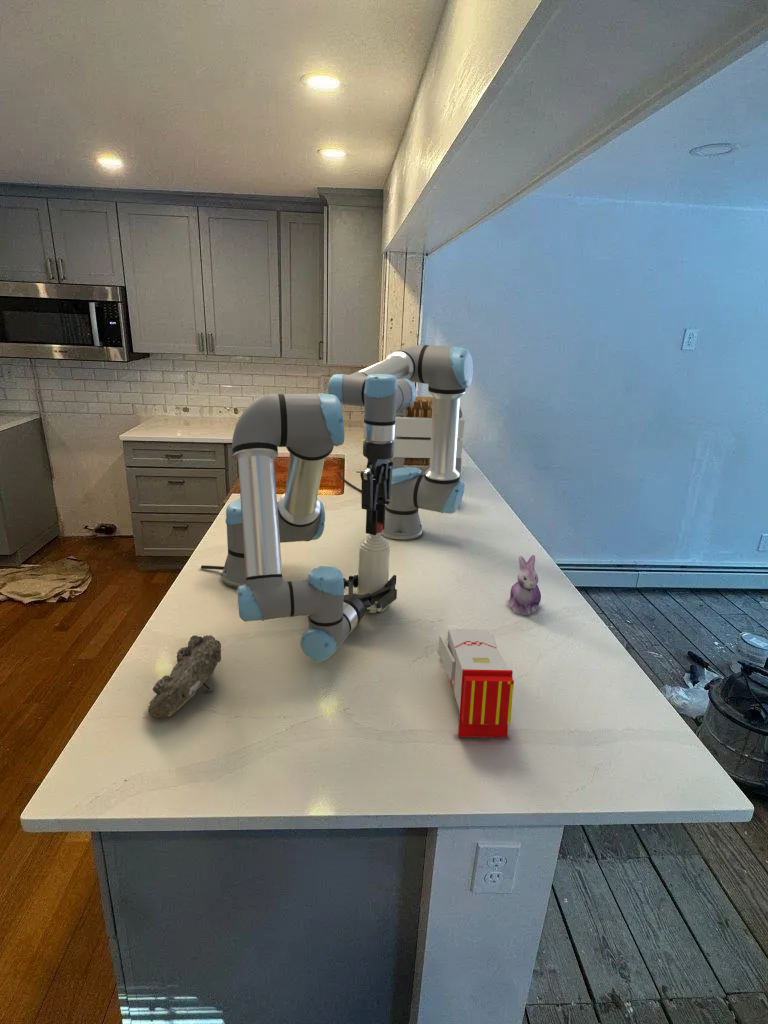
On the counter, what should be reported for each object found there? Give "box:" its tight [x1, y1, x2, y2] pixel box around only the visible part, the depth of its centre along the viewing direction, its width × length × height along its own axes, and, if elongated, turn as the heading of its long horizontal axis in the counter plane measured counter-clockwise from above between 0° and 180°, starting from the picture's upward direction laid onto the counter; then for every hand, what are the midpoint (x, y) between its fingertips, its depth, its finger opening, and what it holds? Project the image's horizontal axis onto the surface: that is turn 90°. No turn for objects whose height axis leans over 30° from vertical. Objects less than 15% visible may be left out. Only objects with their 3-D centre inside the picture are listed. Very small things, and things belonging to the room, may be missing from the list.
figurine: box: [508, 554, 542, 616], centre depth 151 cm, size 9×10×15 cm
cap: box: [377, 522, 383, 533], centre depth 144 cm, size 4×4×2 cm
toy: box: [437, 628, 515, 738], centre depth 117 cm, size 12×13×30 cm
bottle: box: [356, 533, 391, 614], centre depth 147 cm, size 8×8×22 cm
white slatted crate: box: [389, 395, 465, 480], centre depth 268 cm, size 34×33×41 cm
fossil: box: [147, 634, 222, 719], centre depth 114 cm, size 22×10×15 cm
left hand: (379, 576), depth 153 cm, fingers closed on bottle, 8 cm apart
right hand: (375, 530), depth 144 cm, fingers closed on cap, 4 cm apart
